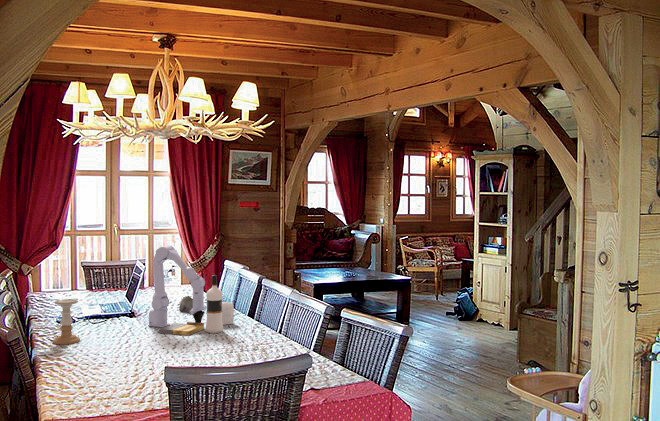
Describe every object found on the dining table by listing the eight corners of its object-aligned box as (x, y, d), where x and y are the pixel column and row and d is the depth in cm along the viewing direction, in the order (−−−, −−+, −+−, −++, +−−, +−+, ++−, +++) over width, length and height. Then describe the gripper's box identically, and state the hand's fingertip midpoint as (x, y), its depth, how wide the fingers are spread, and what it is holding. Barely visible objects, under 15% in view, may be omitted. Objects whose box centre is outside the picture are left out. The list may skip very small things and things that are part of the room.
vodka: (204, 330, 334) (204, 274, 333) (221, 329, 337) (221, 273, 336) (207, 334, 325) (207, 276, 324) (224, 332, 329) (224, 275, 328)
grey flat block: (158, 332, 327) (158, 328, 327) (174, 326, 343) (174, 322, 343) (172, 334, 325) (172, 330, 325) (187, 327, 340) (187, 323, 340)
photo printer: (231, 322, 354) (231, 300, 354) (234, 324, 350) (234, 302, 350) (214, 324, 348) (214, 302, 348) (217, 326, 345) (217, 303, 344)
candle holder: (85, 340, 311) (85, 299, 310) (67, 345, 299) (67, 303, 299) (65, 338, 315) (65, 298, 314) (47, 343, 303) (46, 302, 303)
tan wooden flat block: (172, 333, 325) (172, 327, 325) (188, 327, 340) (188, 321, 340) (188, 335, 322) (188, 329, 322) (204, 328, 338) (204, 322, 337)
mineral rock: (201, 313, 380) (200, 297, 380) (183, 315, 375) (183, 298, 375) (195, 309, 392) (195, 293, 391) (178, 311, 387) (177, 295, 386)
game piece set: (250, 362, 273) (250, 353, 273) (215, 356, 284) (215, 347, 284) (277, 353, 290) (277, 344, 290) (243, 347, 300) (243, 339, 300)
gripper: (198, 302, 333) (198, 328, 333) (211, 298, 346) (211, 322, 347) (186, 301, 335) (186, 327, 335) (199, 297, 348) (199, 321, 349)
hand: (198, 324), depth 341 cm, fingers closed
